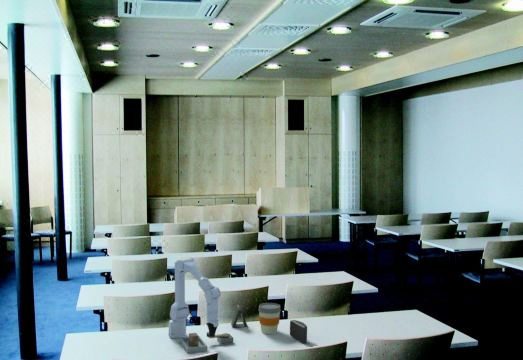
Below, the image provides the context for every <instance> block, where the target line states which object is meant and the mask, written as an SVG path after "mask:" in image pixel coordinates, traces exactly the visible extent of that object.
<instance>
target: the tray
mask: <svg viewBox="0 0 523 360" xmlns="http://www.w3.org/2000/svg"><path fill="white" fill-rule="evenodd" d="M198 336H199V335H198ZM179 343H180V344H181V347H183V349H184V350H185V353H187V354H192V353H198V352H199V353H200V352H201V353H202V352H207V351H208V345H207V344H206V342H205V341H204V340H203V338H202V337H201V336H199V342H198V347H190V346H189V336H188V337H179Z"/></svg>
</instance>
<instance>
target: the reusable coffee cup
mask: <svg viewBox="0 0 523 360" xmlns="http://www.w3.org/2000/svg"><path fill="white" fill-rule="evenodd" d="M281 311H282V310H281V305H280V304H278V303H274V302H265V303H264V302H263V303H260V304H259V306H258V312H259V314H258V319H259V320H258V321H259V324H260V332H261V333H262V334H265V335H275V334H277V333H278V327H279V325H280V319H281V314H280V313H281Z"/></svg>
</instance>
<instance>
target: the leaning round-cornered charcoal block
mask: <svg viewBox="0 0 523 360" xmlns="http://www.w3.org/2000/svg"><path fill="white" fill-rule="evenodd" d="M289 336H290V337H292V338H293V339H295V340H297V341H299V342H300V343H301V344H304V345H306V344H307V342H308V325H307V324H306V323H304V322H302V321H299V320H296V319H292V320H290V321H289Z"/></svg>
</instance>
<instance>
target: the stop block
mask: <svg viewBox="0 0 523 360" xmlns="http://www.w3.org/2000/svg"><path fill="white" fill-rule="evenodd" d="M188 337H189V346H190V347H198V342H199V335H198V333H197V332H193V333H192V332H191V333H188Z"/></svg>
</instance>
